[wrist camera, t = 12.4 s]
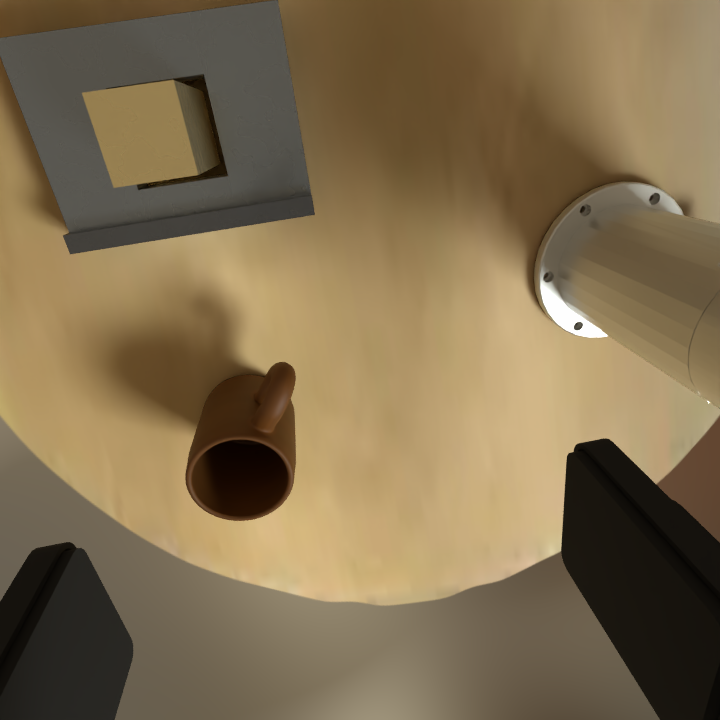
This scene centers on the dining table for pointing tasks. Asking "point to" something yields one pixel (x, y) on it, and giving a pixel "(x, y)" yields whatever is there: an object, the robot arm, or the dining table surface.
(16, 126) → the dining table surface
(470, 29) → the dining table surface
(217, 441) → the mug
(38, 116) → the jig
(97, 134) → the tan cardboard box
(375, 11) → the dining table surface
